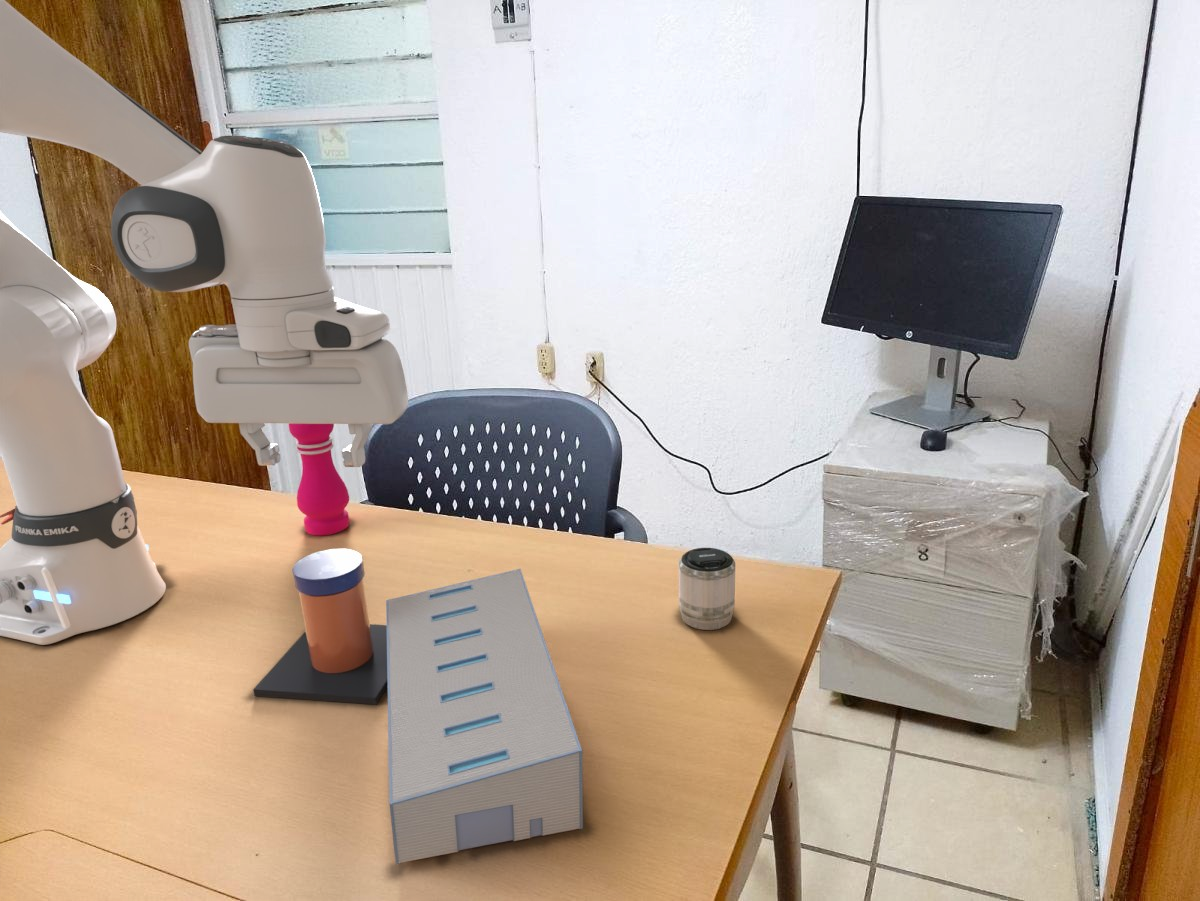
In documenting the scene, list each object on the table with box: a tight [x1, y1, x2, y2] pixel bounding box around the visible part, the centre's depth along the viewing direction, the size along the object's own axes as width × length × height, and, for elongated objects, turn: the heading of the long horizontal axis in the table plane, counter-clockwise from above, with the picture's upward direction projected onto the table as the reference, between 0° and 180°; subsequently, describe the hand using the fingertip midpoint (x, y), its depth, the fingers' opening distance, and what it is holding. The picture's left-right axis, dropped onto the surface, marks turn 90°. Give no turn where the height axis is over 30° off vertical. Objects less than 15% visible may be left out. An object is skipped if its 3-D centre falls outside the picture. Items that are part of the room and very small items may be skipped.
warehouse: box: [385, 568, 584, 865], centre depth 76 cm, size 30×14×8 cm, turn 14°
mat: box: [252, 623, 388, 705], centre depth 88 cm, size 13×13×1 cm
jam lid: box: [291, 548, 366, 596], centre depth 85 cm, size 7×7×2 cm
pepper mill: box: [288, 423, 350, 536], centre depth 118 cm, size 7×7×20 cm
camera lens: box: [678, 547, 736, 631], centre depth 93 cm, size 6×6×8 cm
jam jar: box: [298, 578, 374, 673], centre depth 86 cm, size 6×6×11 cm
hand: (312, 464), depth 81 cm, fingers open, 8 cm apart
